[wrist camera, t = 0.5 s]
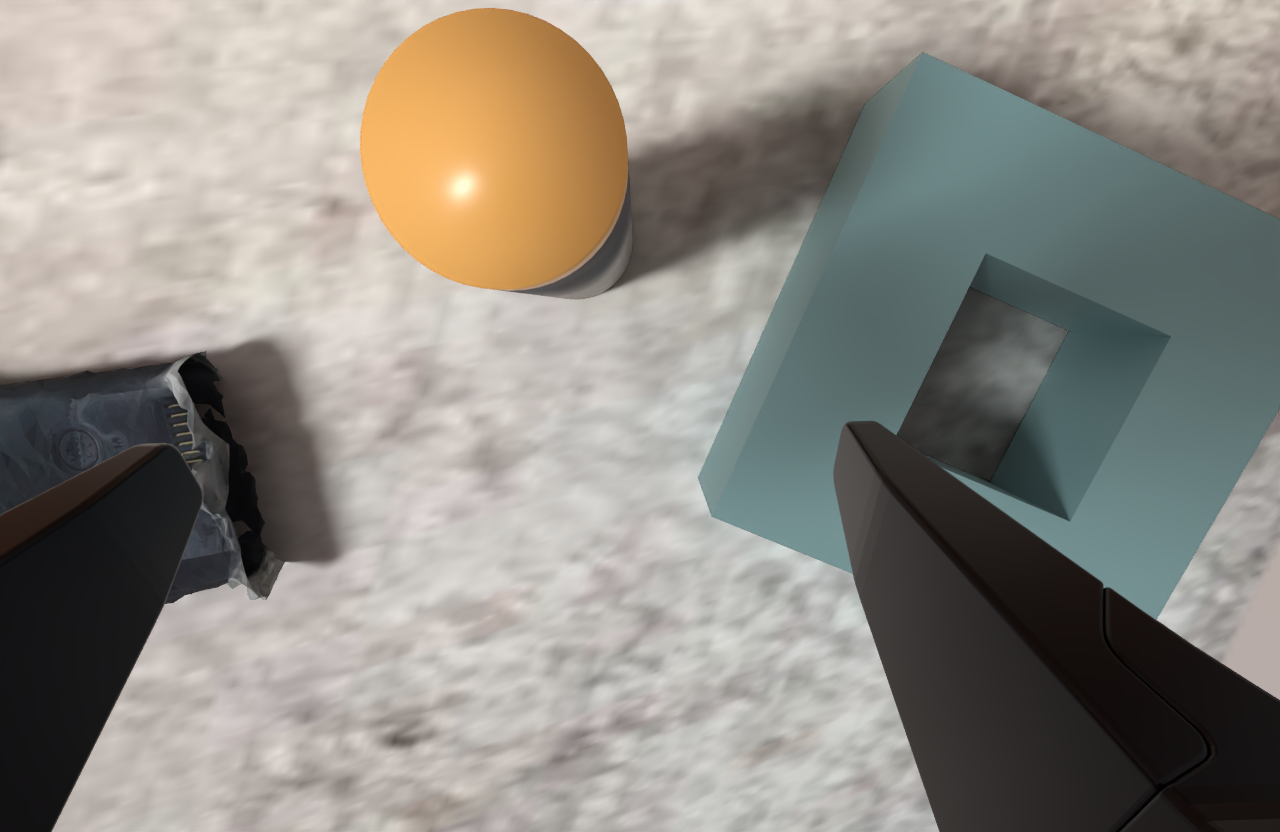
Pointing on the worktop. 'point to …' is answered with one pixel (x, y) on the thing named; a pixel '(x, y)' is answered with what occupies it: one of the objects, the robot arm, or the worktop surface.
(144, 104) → the worktop surface
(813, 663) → the worktop surface
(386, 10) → the worktop surface
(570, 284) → the plug
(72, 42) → the worktop surface
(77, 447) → the electronic device
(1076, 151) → the socket
